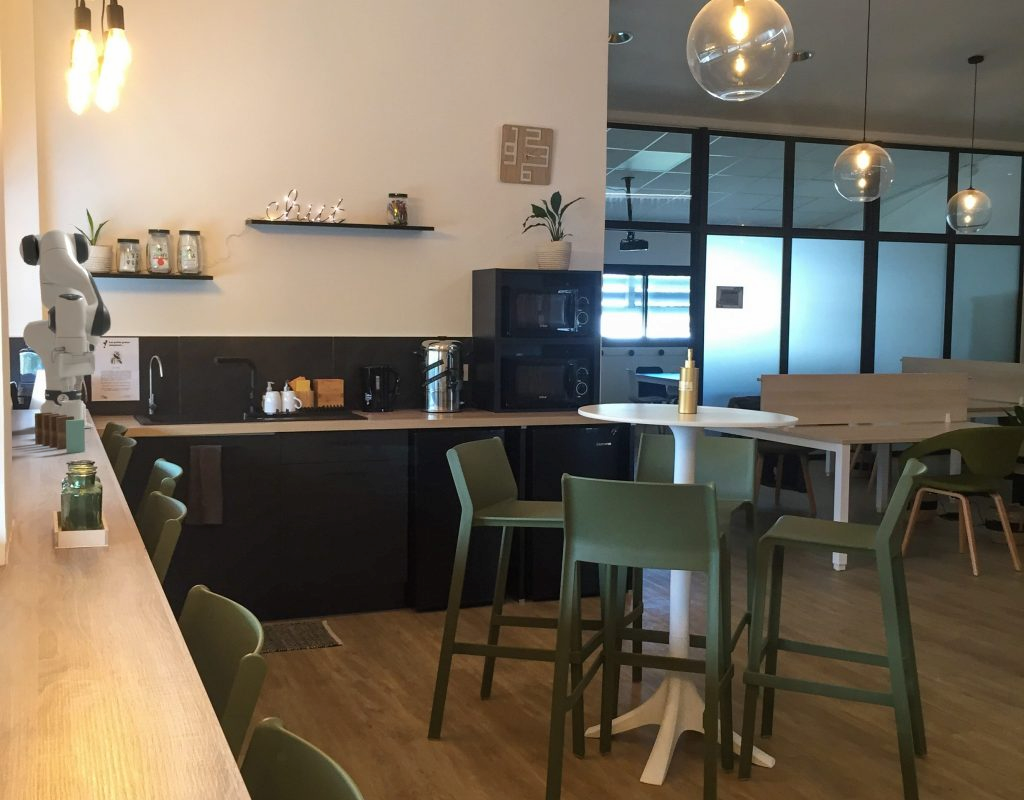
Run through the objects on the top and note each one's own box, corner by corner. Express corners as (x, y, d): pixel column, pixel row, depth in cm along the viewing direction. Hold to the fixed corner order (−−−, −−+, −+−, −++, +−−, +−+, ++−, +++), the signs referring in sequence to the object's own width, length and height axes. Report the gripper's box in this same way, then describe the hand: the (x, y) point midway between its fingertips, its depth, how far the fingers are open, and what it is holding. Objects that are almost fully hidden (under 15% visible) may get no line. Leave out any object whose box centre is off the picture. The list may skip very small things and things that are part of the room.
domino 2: (42, 445, 326) (41, 414, 325) (57, 444, 330) (56, 413, 329) (45, 446, 325) (44, 415, 324) (60, 444, 329) (59, 413, 328)
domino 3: (49, 447, 323) (48, 415, 322) (64, 445, 327) (64, 414, 326) (52, 447, 322) (51, 416, 321) (67, 446, 326) (66, 415, 325)
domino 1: (35, 444, 329) (34, 413, 328) (50, 442, 333) (49, 412, 332) (37, 444, 328) (37, 413, 327) (52, 443, 332) (52, 412, 331)
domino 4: (57, 448, 321) (56, 417, 320) (72, 447, 324) (71, 415, 323) (59, 449, 320) (58, 417, 319) (74, 447, 323) (74, 416, 322)
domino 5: (66, 452, 313) (65, 420, 312) (82, 451, 317) (82, 419, 316) (68, 453, 312) (68, 420, 311) (84, 451, 316) (84, 419, 315)
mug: (84, 434, 353) (83, 400, 352) (83, 437, 347) (83, 402, 345) (52, 435, 349) (51, 400, 348) (51, 438, 343) (50, 402, 342)
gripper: (61, 348, 305) (62, 393, 306) (98, 345, 325) (99, 388, 326) (41, 347, 306) (42, 393, 307) (80, 345, 326) (81, 388, 327)
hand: (72, 390), depth 317 cm, fingers open, 4 cm apart
